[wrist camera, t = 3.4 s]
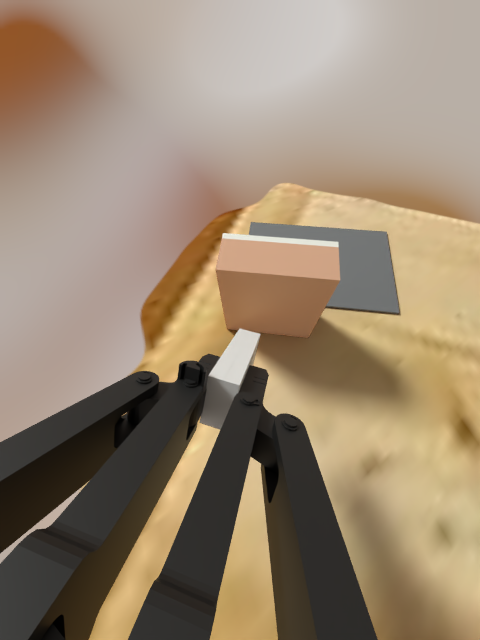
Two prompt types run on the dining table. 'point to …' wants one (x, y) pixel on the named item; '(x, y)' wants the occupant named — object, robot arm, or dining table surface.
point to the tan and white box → (276, 282)
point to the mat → (350, 264)
